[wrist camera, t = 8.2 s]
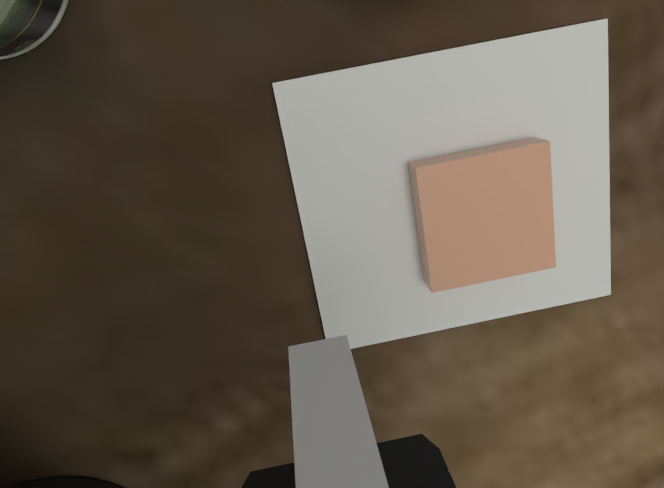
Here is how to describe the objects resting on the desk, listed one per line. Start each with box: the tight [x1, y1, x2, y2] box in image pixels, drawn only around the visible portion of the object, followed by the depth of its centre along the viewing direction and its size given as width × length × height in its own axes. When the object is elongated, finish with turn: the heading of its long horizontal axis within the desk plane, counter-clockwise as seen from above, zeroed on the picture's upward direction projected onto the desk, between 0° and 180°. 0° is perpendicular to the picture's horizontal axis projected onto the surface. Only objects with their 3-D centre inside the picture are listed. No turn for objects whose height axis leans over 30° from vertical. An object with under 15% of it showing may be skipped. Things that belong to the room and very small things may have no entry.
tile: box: [408, 137, 556, 293], centre depth 33 cm, size 2×8×8 cm
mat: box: [272, 19, 611, 349], centre depth 34 cm, size 20×18×1 cm
